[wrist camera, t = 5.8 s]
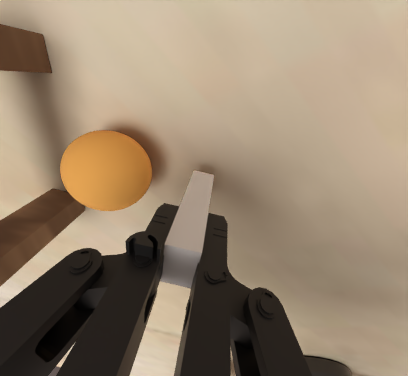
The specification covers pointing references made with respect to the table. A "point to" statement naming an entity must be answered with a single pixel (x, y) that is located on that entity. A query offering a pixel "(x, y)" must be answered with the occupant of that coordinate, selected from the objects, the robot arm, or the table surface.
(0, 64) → the bridge
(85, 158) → the ball
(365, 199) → the table surface
